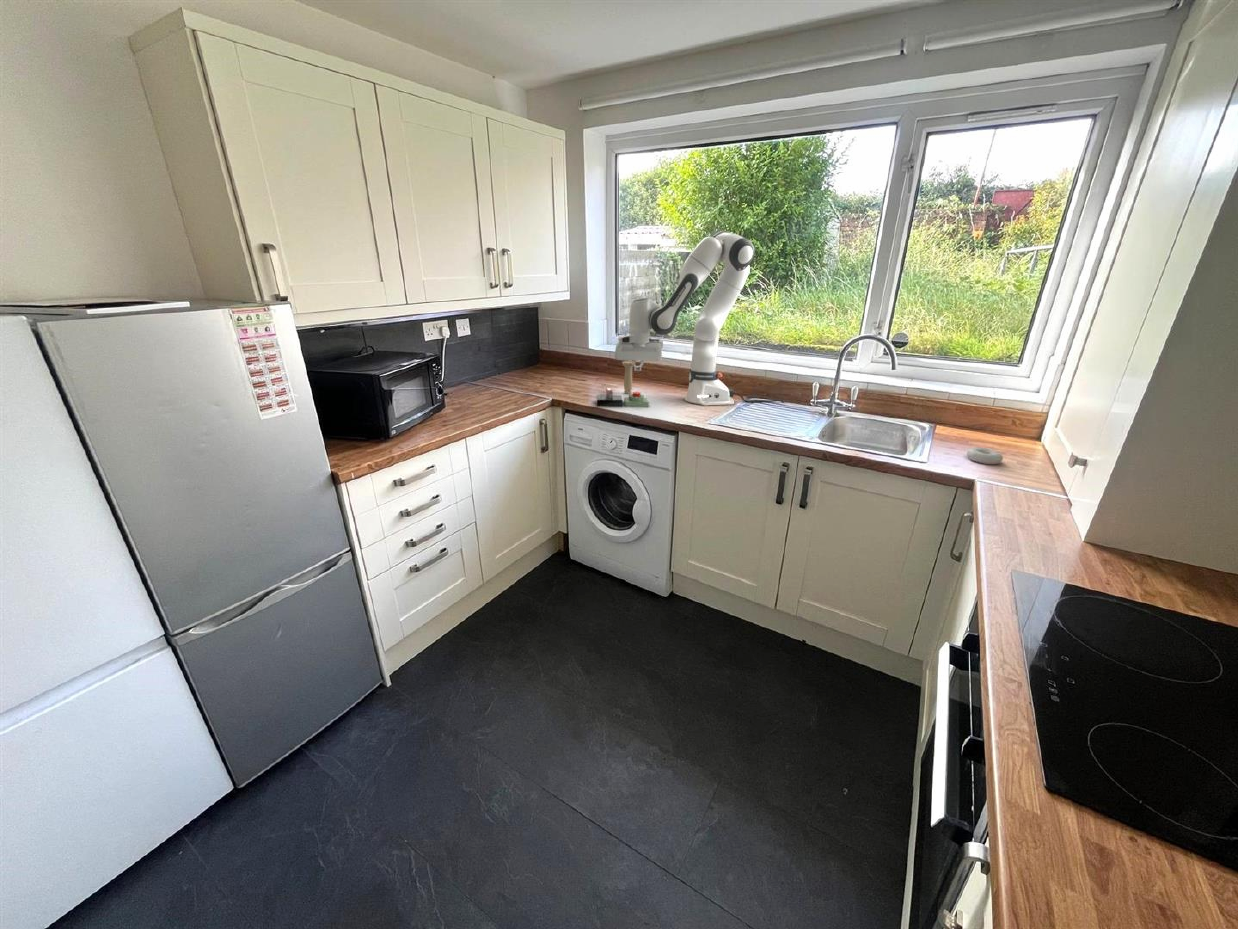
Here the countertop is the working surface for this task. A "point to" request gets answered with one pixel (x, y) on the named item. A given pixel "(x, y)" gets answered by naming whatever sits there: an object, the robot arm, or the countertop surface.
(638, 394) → the button
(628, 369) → the handle
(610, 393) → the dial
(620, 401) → the hob panel
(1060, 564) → the countertop surface
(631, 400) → the switch block
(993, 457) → the donut
